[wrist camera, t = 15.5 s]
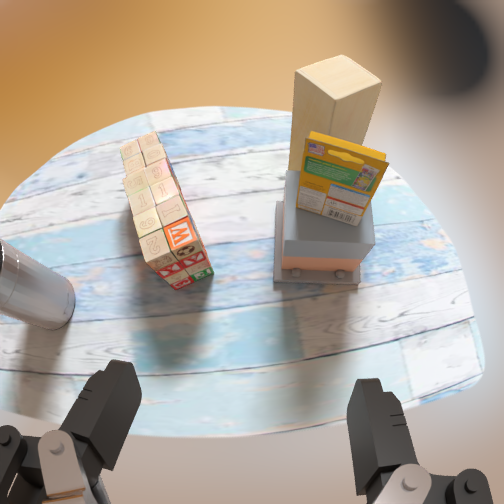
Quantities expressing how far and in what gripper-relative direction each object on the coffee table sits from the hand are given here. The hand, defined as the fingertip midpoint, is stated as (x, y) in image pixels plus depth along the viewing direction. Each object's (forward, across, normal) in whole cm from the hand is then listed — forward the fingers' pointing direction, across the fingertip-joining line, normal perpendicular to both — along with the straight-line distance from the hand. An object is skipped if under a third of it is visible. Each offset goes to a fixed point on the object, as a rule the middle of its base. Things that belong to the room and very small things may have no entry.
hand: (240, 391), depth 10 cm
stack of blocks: (+37, +15, +7) cm, 41 cm away
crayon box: (+27, -7, +1) cm, 28 cm away
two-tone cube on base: (+35, -7, +8) cm, 37 cm away
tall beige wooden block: (+43, -8, 0) cm, 44 cm away
